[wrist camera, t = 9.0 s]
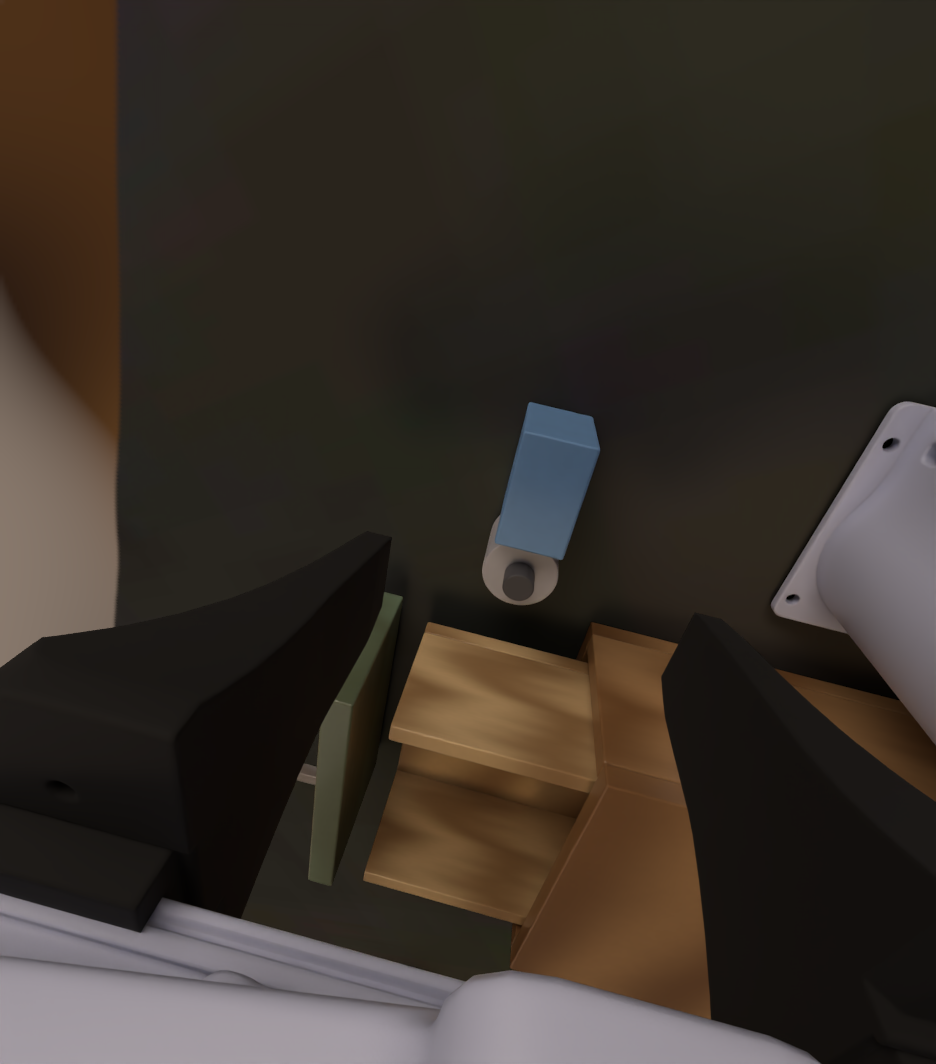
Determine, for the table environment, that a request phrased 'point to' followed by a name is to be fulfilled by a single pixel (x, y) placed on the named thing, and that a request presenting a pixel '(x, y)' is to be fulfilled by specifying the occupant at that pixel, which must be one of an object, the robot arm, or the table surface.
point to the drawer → (457, 767)
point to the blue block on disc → (540, 504)
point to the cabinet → (661, 832)
